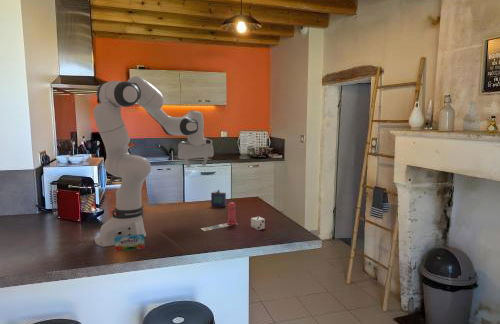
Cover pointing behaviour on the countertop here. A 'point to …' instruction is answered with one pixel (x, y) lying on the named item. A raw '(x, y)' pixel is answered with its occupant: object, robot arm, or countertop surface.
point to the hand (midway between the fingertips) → (196, 166)
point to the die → (258, 223)
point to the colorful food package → (129, 242)
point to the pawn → (231, 214)
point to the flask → (218, 199)
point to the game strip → (215, 227)
